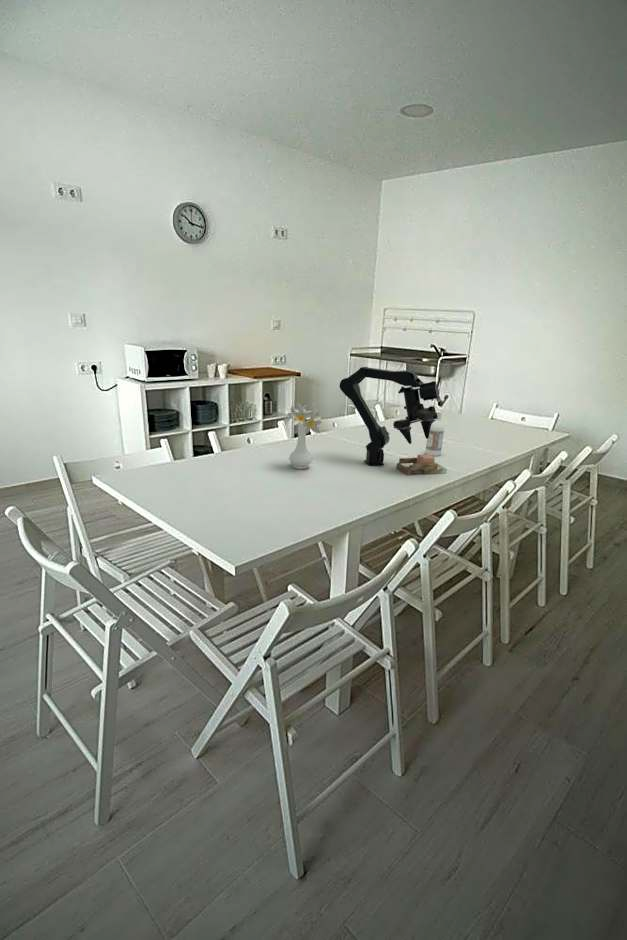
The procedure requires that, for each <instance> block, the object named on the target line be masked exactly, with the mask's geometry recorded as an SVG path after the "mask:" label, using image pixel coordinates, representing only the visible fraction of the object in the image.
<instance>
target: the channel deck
mask: <svg viewBox="0 0 627 940" xmlns="http://www.w3.org/2000/svg"><path fill="white" fill-rule="evenodd" d="M403 464H409V466H405V465H403ZM396 469H397V470H399V471H401V472H402V473H404V474H405V475H406V476H411V475H421V474H422V475H437V474H442V475H443V474H447V473H448V468H447V467H445V466H443V465H441V464H439V463H438V462H437V461H434V464H417V457H402V458H400V457H399V459H398V462H397V463H396Z"/></svg>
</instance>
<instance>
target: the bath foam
mask: <svg viewBox="0 0 627 940" xmlns="http://www.w3.org/2000/svg"><path fill="white" fill-rule="evenodd" d="M436 413H437V417H438V418H437V419H433V420H435V421H434V422H433V423H432V425H431V428H430V433H429V438H428V439H426V446H425V454H429V455H431V456H432V457H438V456H441V455H442V448H443V441H444V434H445V433H444V432H445V425H444V424H443V422H442V411H441V410H436Z"/></svg>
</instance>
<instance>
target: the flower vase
mask: <svg viewBox="0 0 627 940" xmlns="http://www.w3.org/2000/svg"><path fill="white" fill-rule="evenodd" d="M295 405H296V406H295ZM295 405H291V407H290V412H288V413H287V415H286V421H285V424H286V423H287V422H289V421H290V420H291V419H294V420H293V422H292V425H293V426H297V428H298V431H297V432H298V434H297V442H296V447H295V449H294V450H293V451H292V452H291V453H290V454H289V457H288V460H289V463H290V464H292V467H293V468H294V469H297V470H298V469H299V470H304V469H308V468H309V465H311V463H312V462H313V456H312V454H311V453H310V451H309V450H308V448H307V442H306V438H307V437H306V436H307V435H308V434H309V433H310V432H311V431H312V432H313V433H316V434H317V433H318V428H317V426H319V427H321V424H322V420H321V419H322V416H321V415H320V412H319V411H318V410H317V408H316V407H315V405H313V407H312V409H311V410H309V407H310V405H309V404H305V405H303V406H302V404H301V403H300V402H296V404H295ZM295 407H296V408H295ZM306 434H307V435H306Z"/></svg>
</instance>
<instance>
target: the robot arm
mask: <svg viewBox="0 0 627 940" xmlns="http://www.w3.org/2000/svg"><path fill="white" fill-rule="evenodd" d="M365 378H369V379H377V380H384V381H390V382H393V383H396V384H398V385H401V387H400V389H399V390H398V391H397V392H398V394H402V393H403V396H404V397H403V398H404V403H405V405H404V406H403V408H404V409H403V410H406V415H407V416H405V419H402V418H401V419H398V420H394V421H393V429H396V430H397V431H399V432H400V433H401V434H402V436H403V437H404V438H405V440H406V441H407V443H408V444H409V445H412V434H411V430H412V426H411V425H412V424H415V423H418V422H420V424H421V427H422V430H423V434H424V437H425V439H426V440H427V439H428V438H429V433H430V428H431V425H432V423H433V422H434V421H435V420H434V419H437V418H438V417H437V413H436V411H437V410H436V406H433V405H431V406H428V407H425V406H424V404H423V403H421V400H423V401H424V402H425V401H431V400H437V399H440V388H439V387H438V384H437V381H436V380H432V381H431V382H423V381H422V380H421V379H420V378H419V377H418V373H417V372H416V371H415V370H413V369H412V370H411V369H407V370H405V369H404V370H390V369H389V370H388V369H384V368H383V369H382V368H375V367H368V366H362V367H360V368H359V369H357V371H355V372H354V373H352V374H351V375H349V376H348V377H345V378H343V379H341V380H340V382H339V388H340V391H341V392H342V393H343V395H345V396H346V397H347V398H348V399H349V400H350V401H351V402H352V404H353V406H354V407H355V409H356V411H357V412H358V414H359V416H360V417H361V420H362V421H363V423H364V424H365V426H366V428H367V430H368V434H369V435H368V436H369V439H370V442H369V443H367V444H366V445H365V449H366V456H365V460H364V461H363V462H364V463H366V464H367V465H369V466H384V465H385V463H384V460H385V459H384V458H385V453H384V447H385V446H387V444H388V443H389V442H390V440H391V439H390V432H388V430H387V428H386V426H385V425H383V426H381V425H380V424H378V422H377V420H376V418H375V417H374V414H373V413H372V411H371V409H370V408H369V406H368V404H367V403H366V401H365V400H364V398H363V396H362V392H361V387H360V383H362V381H363V380H364V379H365Z"/></svg>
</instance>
